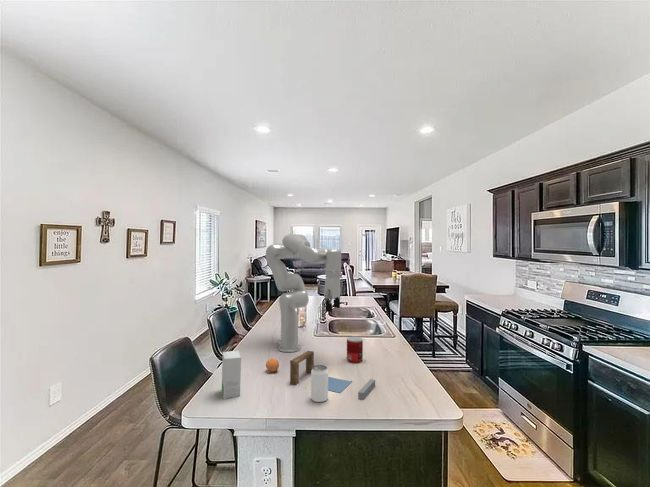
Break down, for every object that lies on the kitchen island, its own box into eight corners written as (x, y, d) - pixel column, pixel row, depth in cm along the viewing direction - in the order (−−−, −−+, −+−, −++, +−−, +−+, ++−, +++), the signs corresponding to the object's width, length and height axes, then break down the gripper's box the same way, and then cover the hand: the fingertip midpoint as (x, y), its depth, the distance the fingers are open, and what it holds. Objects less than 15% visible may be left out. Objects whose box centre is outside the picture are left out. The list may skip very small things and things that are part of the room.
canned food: (361, 363, 168) (361, 341, 167) (345, 362, 169) (345, 340, 169) (363, 358, 175) (363, 337, 175) (347, 357, 177) (347, 336, 177)
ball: (263, 372, 156) (263, 359, 156) (271, 368, 161) (271, 355, 161) (274, 374, 153) (274, 361, 153) (281, 370, 159) (281, 357, 159)
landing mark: (313, 387, 141) (313, 386, 141) (326, 376, 151) (326, 376, 151) (340, 393, 135) (340, 392, 135) (351, 382, 146) (351, 381, 146)
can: (310, 395, 133) (310, 364, 133) (327, 394, 134) (327, 364, 134) (311, 403, 127) (311, 370, 127) (328, 402, 127) (328, 370, 127)
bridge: (290, 383, 144) (290, 360, 144) (308, 371, 157) (308, 350, 157) (296, 384, 143) (296, 361, 143) (313, 372, 156) (313, 351, 156)
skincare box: (221, 390, 137) (221, 351, 137) (238, 387, 140) (238, 349, 140) (223, 399, 130) (223, 358, 129) (241, 396, 132) (241, 356, 132)
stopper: (358, 398, 130) (358, 392, 130) (370, 384, 143) (370, 378, 143) (363, 399, 130) (363, 393, 130) (375, 385, 142) (375, 379, 142)
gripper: (333, 272, 176) (332, 305, 176) (318, 275, 160) (318, 312, 161) (346, 273, 173) (346, 307, 173) (333, 276, 157) (332, 313, 157)
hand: (332, 309), depth 167 cm, fingers open, 9 cm apart
